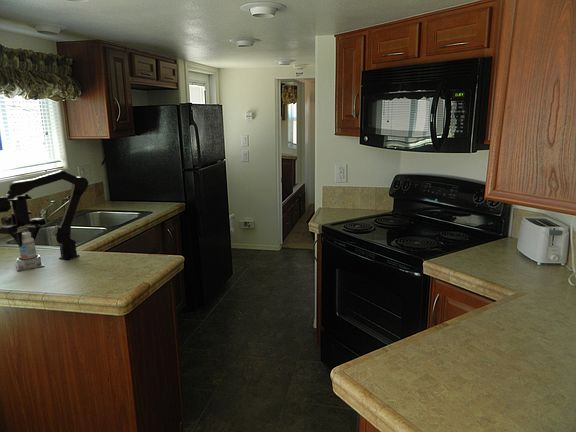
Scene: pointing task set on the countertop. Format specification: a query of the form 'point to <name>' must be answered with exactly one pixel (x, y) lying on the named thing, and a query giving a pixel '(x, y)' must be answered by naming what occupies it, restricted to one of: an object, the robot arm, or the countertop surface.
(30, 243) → the pill bottle
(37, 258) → the grey open tray
